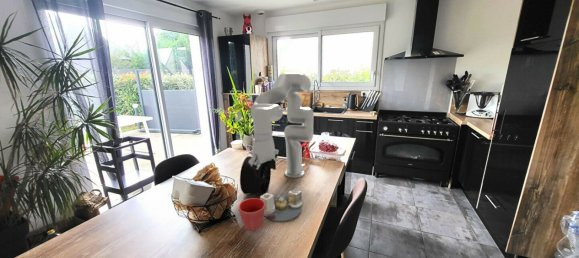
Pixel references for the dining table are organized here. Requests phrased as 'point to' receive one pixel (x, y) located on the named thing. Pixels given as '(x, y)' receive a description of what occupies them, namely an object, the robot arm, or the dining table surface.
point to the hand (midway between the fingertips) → (265, 172)
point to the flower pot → (252, 213)
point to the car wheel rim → (255, 178)
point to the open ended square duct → (268, 203)
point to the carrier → (286, 207)
